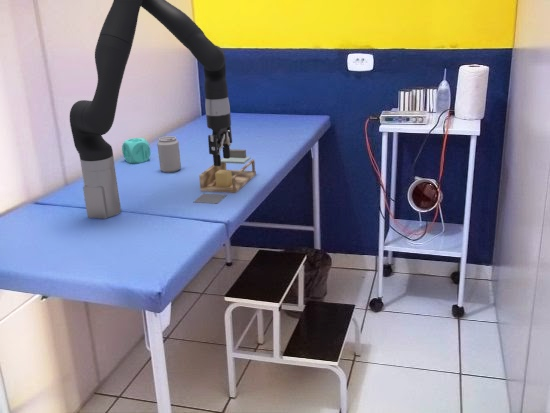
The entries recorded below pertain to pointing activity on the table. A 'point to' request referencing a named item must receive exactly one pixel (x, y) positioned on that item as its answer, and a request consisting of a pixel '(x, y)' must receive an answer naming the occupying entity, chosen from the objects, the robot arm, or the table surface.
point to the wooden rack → (237, 178)
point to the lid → (236, 157)
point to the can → (169, 154)
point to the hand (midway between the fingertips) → (222, 161)
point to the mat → (210, 198)
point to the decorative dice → (136, 150)
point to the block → (223, 178)
